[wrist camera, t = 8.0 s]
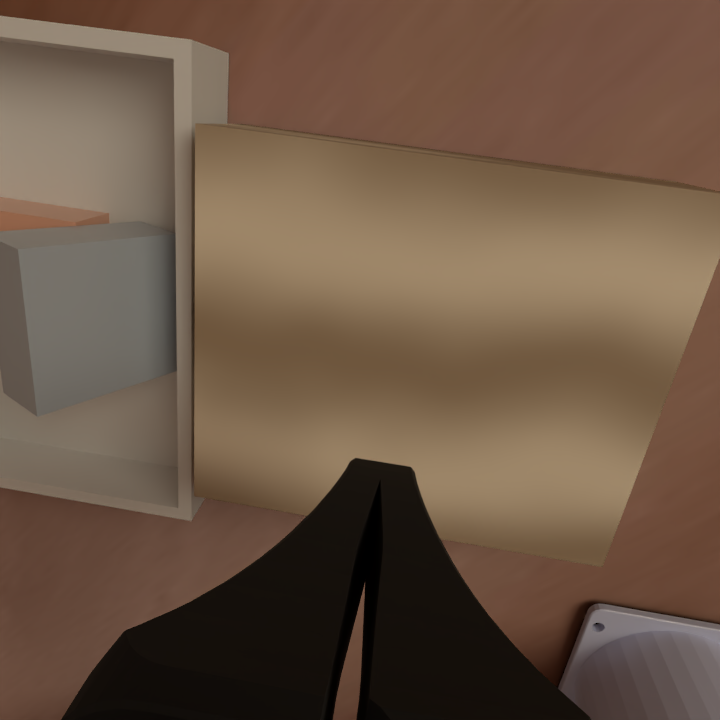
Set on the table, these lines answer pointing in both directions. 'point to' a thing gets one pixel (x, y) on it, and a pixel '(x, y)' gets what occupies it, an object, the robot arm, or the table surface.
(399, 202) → the board
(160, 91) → the box
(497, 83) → the table surface
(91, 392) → the slate tile
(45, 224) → the terracotta tile
